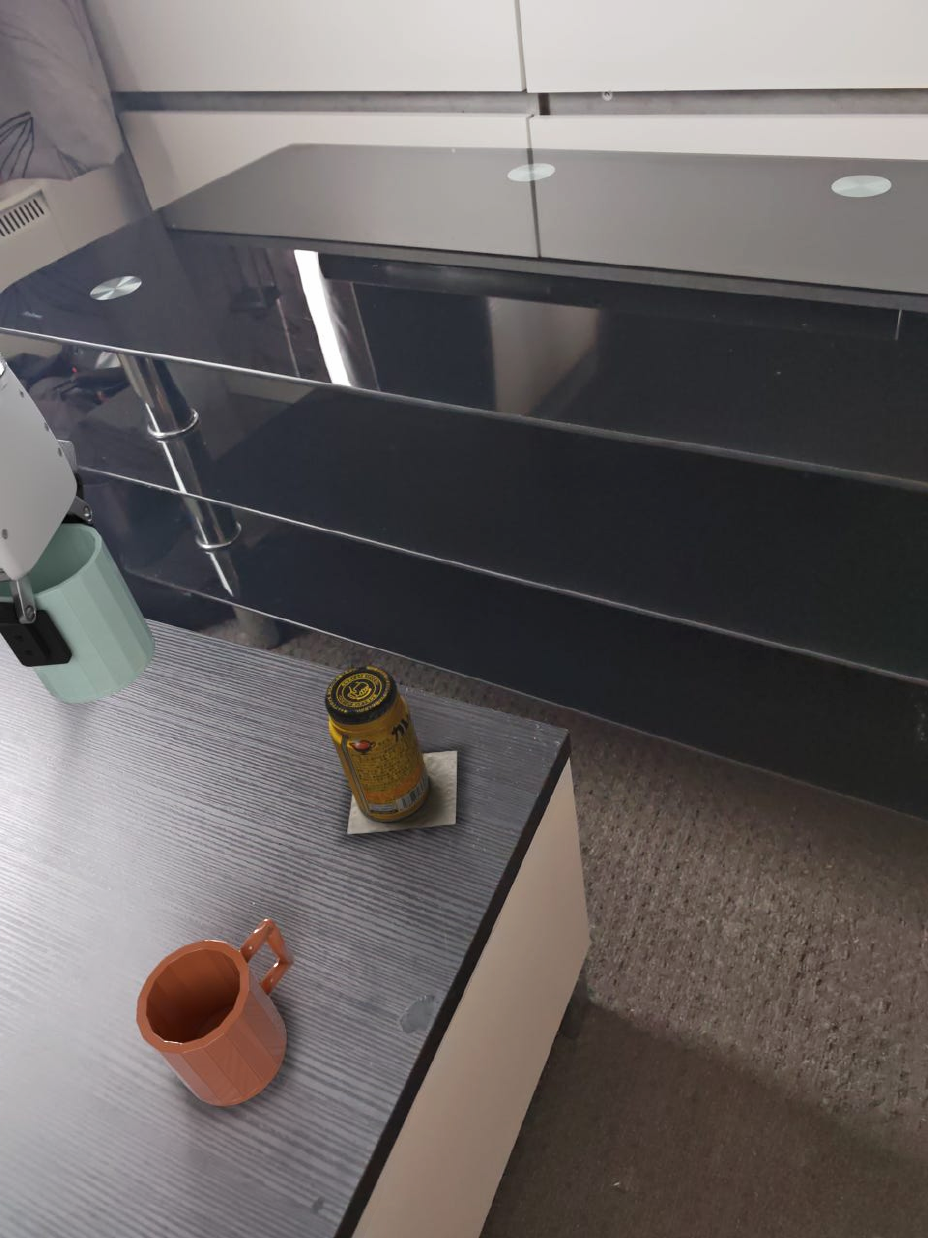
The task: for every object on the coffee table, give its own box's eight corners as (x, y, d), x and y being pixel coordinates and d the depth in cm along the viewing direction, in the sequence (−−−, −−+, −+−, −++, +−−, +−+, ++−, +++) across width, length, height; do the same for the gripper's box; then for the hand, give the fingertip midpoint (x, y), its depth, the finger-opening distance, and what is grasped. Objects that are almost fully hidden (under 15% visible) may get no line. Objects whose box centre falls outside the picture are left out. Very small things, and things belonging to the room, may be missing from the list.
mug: (237, 1128, 56) (191, 1076, 51) (163, 1070, 59) (112, 1015, 54) (336, 991, 61) (305, 931, 56) (264, 945, 65) (227, 884, 59)
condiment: (356, 761, 76) (319, 659, 68) (457, 752, 75) (431, 647, 67) (347, 836, 71) (305, 735, 63) (456, 826, 70) (427, 723, 62)
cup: (27, 708, 61) (-44, 607, 55) (69, 628, 66) (9, 529, 60) (136, 699, 60) (75, 595, 54) (168, 619, 65) (117, 517, 59)
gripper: (-62, 310, 55) (67, 540, 67) (-235, 471, 42) (-38, 721, 54) (53, 293, 54) (164, 530, 66) (-88, 453, 41) (80, 711, 53)
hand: (72, 615), depth 60 cm, fingers closed on cup, 7 cm apart
